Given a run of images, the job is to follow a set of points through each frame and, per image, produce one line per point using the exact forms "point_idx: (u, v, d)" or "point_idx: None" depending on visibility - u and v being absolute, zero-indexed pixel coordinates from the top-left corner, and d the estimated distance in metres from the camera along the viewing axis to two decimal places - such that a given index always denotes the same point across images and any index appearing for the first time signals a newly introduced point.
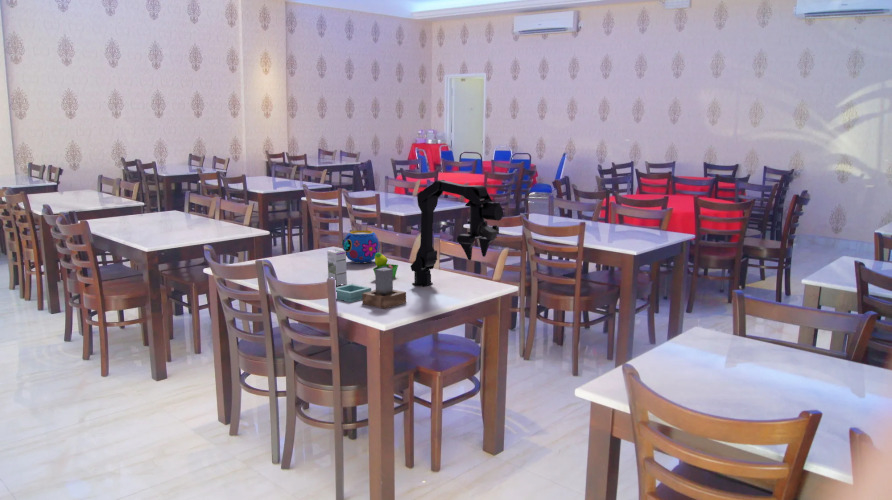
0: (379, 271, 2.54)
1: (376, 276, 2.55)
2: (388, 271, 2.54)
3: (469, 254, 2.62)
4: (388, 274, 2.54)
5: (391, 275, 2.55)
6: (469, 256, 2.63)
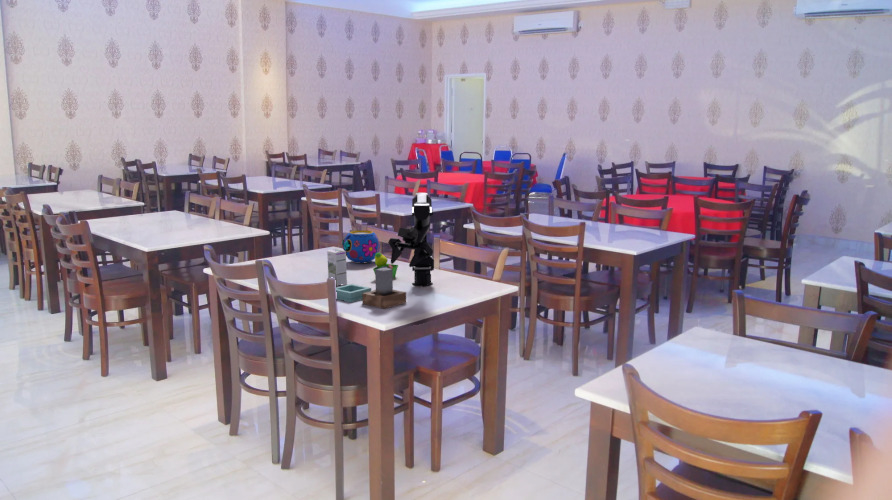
0: (379, 271, 2.54)
1: (376, 276, 2.55)
2: (388, 271, 2.54)
3: None
4: (388, 274, 2.54)
5: (391, 275, 2.55)
6: None
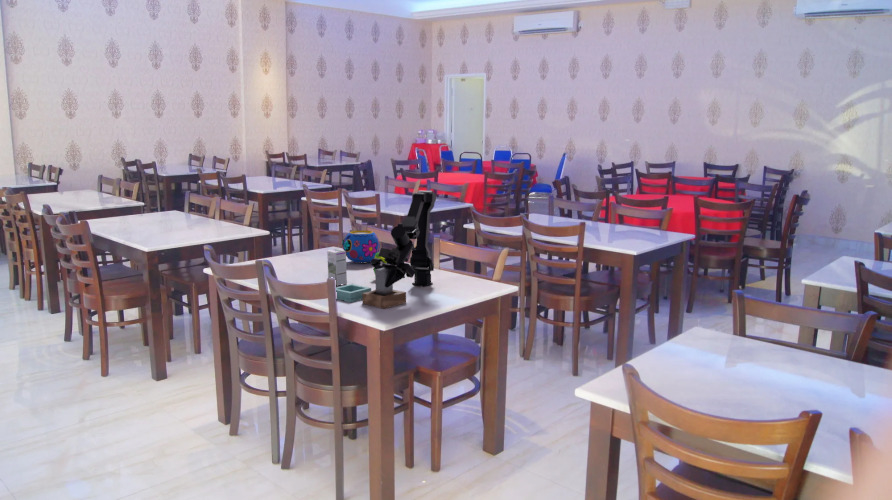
0: (379, 271, 2.54)
1: (376, 276, 2.55)
2: (388, 271, 2.54)
3: None
4: (388, 274, 2.54)
5: None
6: None
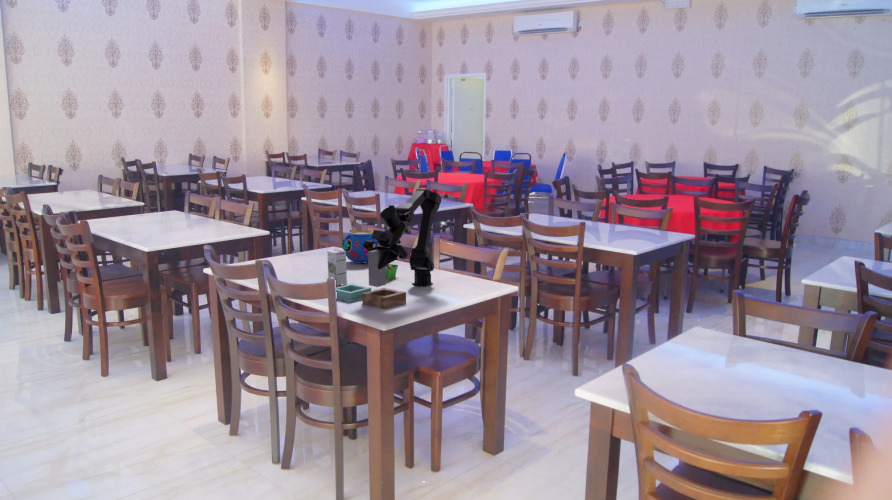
0: (372, 253, 2.54)
1: (368, 258, 2.56)
2: (381, 253, 2.55)
3: None
4: (381, 255, 2.55)
5: None
6: None
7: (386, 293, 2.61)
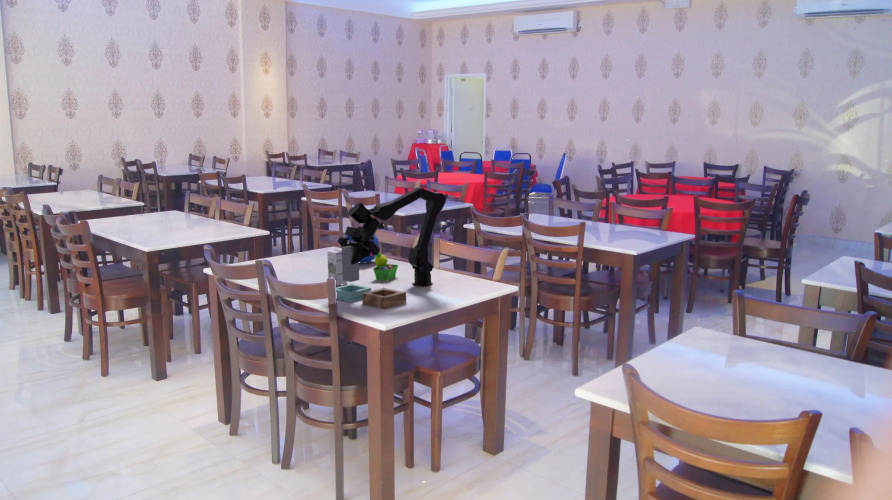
0: (345, 249, 2.62)
1: (342, 254, 2.64)
2: (354, 249, 2.62)
3: None
4: (354, 251, 2.63)
5: None
6: None
7: (386, 293, 2.61)
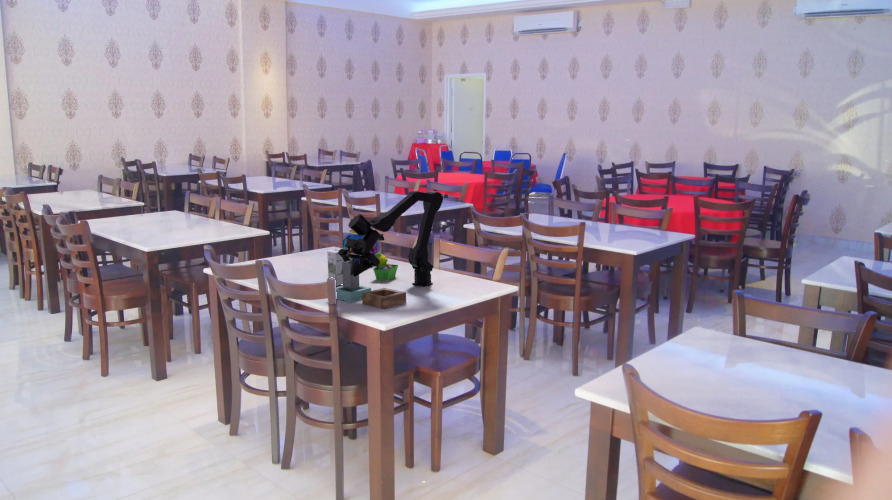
0: (346, 263, 2.63)
1: (342, 269, 2.65)
2: (354, 264, 2.64)
3: None
4: (355, 266, 2.64)
5: None
6: None
7: (386, 293, 2.61)
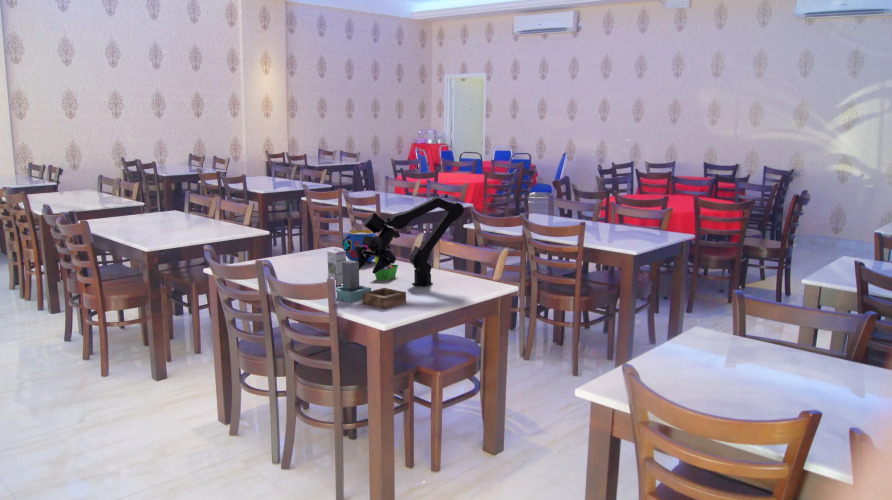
0: (346, 263, 2.63)
1: (342, 269, 2.65)
2: (354, 264, 2.64)
3: None
4: (355, 266, 2.64)
5: (357, 267, 2.65)
6: None
7: (386, 293, 2.61)
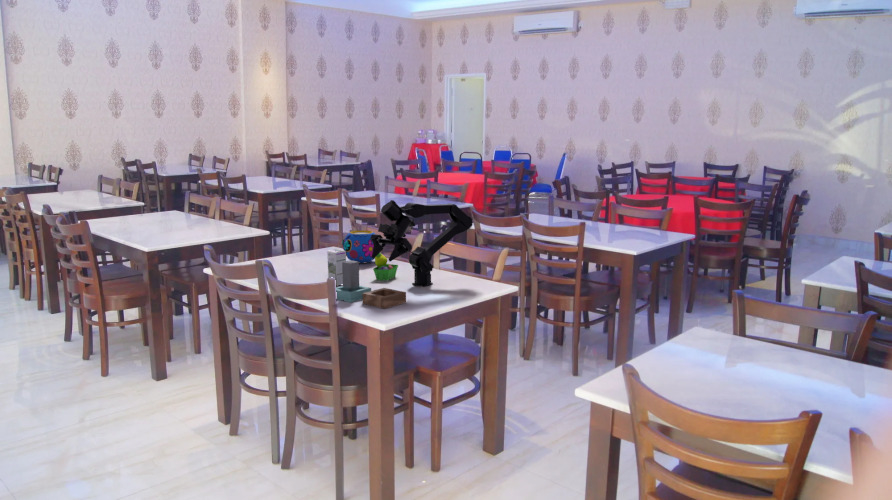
0: (346, 263, 2.63)
1: (342, 269, 2.65)
2: (354, 264, 2.64)
3: None
4: (355, 266, 2.64)
5: (357, 267, 2.65)
6: None
7: (386, 293, 2.61)
